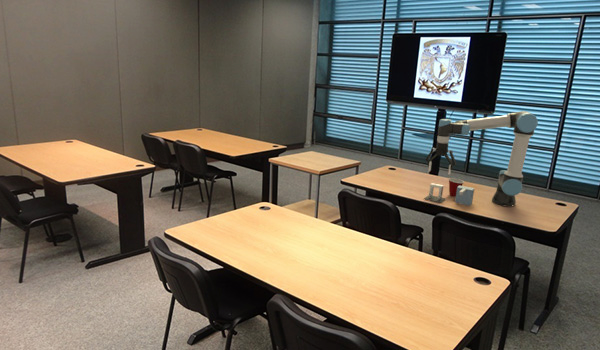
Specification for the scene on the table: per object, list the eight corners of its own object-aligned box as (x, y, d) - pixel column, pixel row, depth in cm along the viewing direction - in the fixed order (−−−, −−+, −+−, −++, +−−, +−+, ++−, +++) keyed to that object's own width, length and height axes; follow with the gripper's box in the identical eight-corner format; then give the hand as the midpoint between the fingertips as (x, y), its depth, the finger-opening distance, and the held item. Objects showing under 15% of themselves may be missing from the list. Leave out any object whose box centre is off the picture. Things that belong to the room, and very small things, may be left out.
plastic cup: (460, 199, 306) (463, 182, 303) (444, 196, 311) (447, 180, 308) (462, 195, 315) (465, 179, 312) (447, 192, 320) (450, 176, 317)
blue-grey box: (472, 203, 297) (474, 188, 294) (466, 209, 284) (468, 193, 281) (457, 200, 302) (459, 185, 299) (450, 206, 289) (453, 190, 287)
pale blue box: (441, 199, 301) (443, 185, 299) (439, 200, 298) (441, 186, 295) (430, 196, 306) (432, 183, 303) (428, 197, 302) (430, 184, 300)
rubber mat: (445, 199, 304) (446, 198, 303) (440, 203, 294) (440, 202, 294) (429, 195, 310) (429, 194, 310) (423, 199, 300) (423, 198, 300)
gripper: (463, 143, 288) (459, 174, 293) (426, 139, 301) (423, 168, 307) (460, 145, 282) (456, 176, 287) (422, 140, 295) (419, 170, 301)
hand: (439, 172), depth 297 cm, fingers open, 13 cm apart
